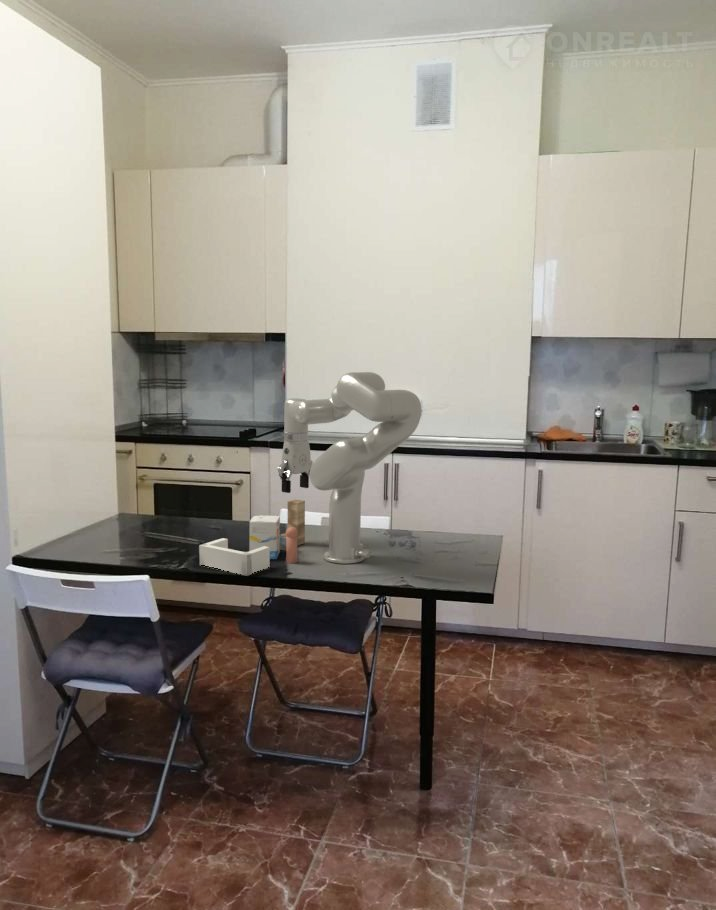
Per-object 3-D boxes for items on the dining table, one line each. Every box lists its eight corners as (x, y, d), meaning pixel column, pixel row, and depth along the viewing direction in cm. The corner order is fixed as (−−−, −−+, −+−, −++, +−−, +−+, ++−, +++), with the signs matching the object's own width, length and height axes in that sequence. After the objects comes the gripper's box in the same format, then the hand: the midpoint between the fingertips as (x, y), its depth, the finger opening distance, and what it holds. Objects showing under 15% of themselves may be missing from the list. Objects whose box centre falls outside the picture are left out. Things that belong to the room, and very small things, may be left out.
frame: (269, 567, 210) (269, 547, 210) (247, 575, 202) (246, 555, 201) (222, 557, 220) (222, 538, 219) (199, 565, 211) (199, 545, 211)
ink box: (276, 559, 218) (276, 521, 217) (248, 559, 218) (248, 521, 217) (280, 551, 227) (280, 515, 225) (253, 551, 227) (253, 514, 225)
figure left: (300, 561, 217) (300, 526, 215) (292, 564, 214) (292, 529, 212) (290, 559, 219) (290, 525, 217) (283, 562, 216) (283, 527, 214)
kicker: (312, 544, 235) (312, 501, 233) (291, 551, 226) (291, 507, 224) (287, 539, 240) (287, 498, 238) (266, 547, 231) (266, 504, 229)
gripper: (288, 441, 222) (288, 495, 225) (321, 435, 237) (320, 487, 239) (269, 439, 226) (269, 492, 229) (302, 433, 240) (301, 484, 243)
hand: (295, 489), depth 234 cm, fingers open, 9 cm apart
